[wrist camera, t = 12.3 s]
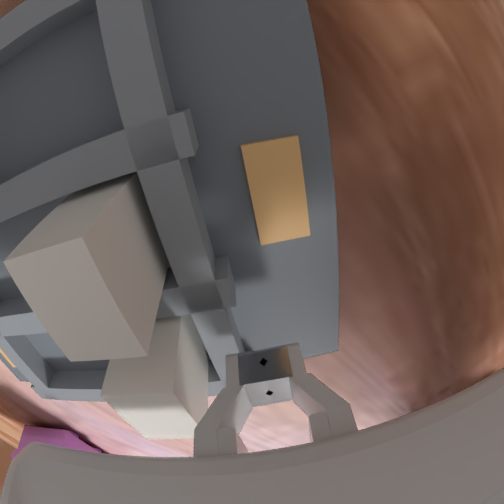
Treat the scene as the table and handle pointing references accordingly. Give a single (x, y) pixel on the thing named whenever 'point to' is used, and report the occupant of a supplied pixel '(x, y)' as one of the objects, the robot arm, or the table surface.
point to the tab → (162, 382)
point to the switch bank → (176, 166)
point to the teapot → (52, 439)
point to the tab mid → (95, 271)
